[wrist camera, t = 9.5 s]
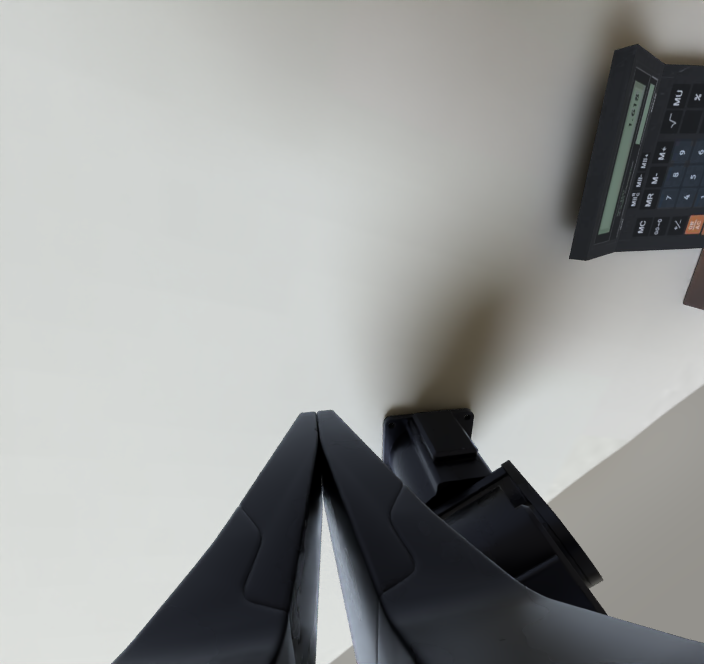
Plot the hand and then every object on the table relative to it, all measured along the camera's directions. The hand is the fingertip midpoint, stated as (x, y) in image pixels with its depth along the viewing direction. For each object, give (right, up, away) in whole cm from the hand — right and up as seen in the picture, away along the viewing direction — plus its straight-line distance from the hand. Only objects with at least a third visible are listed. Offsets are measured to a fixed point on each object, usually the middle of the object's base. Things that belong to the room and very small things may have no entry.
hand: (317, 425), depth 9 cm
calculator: (+18, +12, +11) cm, 25 cm away
